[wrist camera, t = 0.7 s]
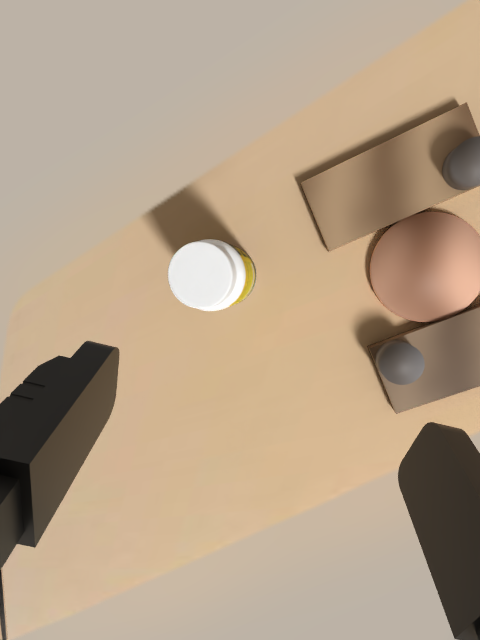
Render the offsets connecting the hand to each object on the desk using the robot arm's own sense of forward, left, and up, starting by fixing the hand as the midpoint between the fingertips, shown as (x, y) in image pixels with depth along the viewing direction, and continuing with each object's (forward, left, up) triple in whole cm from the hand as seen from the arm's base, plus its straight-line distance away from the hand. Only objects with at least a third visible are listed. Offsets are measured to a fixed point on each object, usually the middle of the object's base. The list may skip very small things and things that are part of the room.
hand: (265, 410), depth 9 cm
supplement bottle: (+3, -5, -20) cm, 21 cm away
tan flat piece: (-11, 0, -20) cm, 23 cm away
